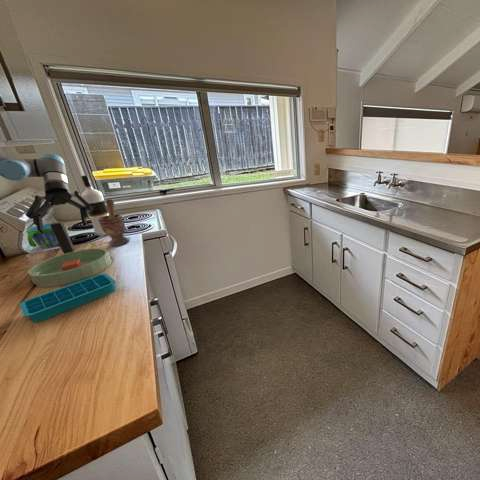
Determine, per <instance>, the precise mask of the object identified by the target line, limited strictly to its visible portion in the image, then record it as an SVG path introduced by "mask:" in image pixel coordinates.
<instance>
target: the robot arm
mask: <svg viewBox="0 0 480 480" xmlns="http://www.w3.org/2000/svg"><path fill="white" fill-rule="evenodd" d="M0 176H1V177H2V178H4V179H6V180H9V181H16V182H17V181H21V180H22V181H23V180H25V179H27V178H42V180H43V188H44V194H45V195H44V196H40V195H35V196H34V200H33V202H32V203H31V205H30V206H29V208H28V210H27V211H26V213H25V217H27V218H28V219H30V220H32V222H33V224H34V226H37V229H38V231H40V232H41V233H44V230H43V225H44V223H43V218H42V216H44V214H46V213H47V211H48V210H49V209H51V208H54V206H60V205H66V204H69V205H71V206H73V207H75V208H77V209H79V213H80V218H81V223H82V224H83V225H84V226H88V223H87V222H88V221H87V218H89V214H88V210H92V209H93V208H92V207H91V205H90V204H89V203H87V202H86V201H85V200H84V199H83V198H82V197H81V193H79V192H78V190H74V192H71V191H70V186H69V180H68V174H67V168H66V164H65V161H64V159H63V158H62V157H61V156H59V155H57V154H54V153H45V154H42V155H41V156H40V157H39V158H18V157H16V158H15V157H9V156H6V155H4V154H1V153H0ZM72 197H74V198H75V199H78V201H79V202H81V203H79V202H77V201H75V200H73V199H72ZM82 204H83V205H82Z"/></svg>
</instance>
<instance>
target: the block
mask: <svg viewBox="0 0 480 480" xmlns="http://www.w3.org/2000/svg"><path fill="white" fill-rule="evenodd" d="M81 266H83V265H82V263H81V261H80V259H78V260H74V261H69V262H65V263H63V265H62V266H61V269H62V271H67V270H71V269H75V268H78V267H81Z"/></svg>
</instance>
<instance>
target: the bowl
mask: <svg viewBox="0 0 480 480" xmlns="http://www.w3.org/2000/svg"><path fill="white" fill-rule="evenodd" d="M110 255H111V254H110V253H109V251H108V249H106V248H104V247H103V248H102V247H94V248H84V249H79V250H76V251H73V252H69V253H65V254H64V253H62V254H59V255H56V256H52V257H49V258H47V259H44V260H42V261H41V262H38V263H37V264H35V265H33V266H31V267H30V268H29V269H28V270H27V275H28V276H29V278H30V280H31V281H32V283H33V285H34V286H36V287H37V288H38V287H39V288H53V287H60V286H66V285H70V284H73V283H76V282H79V281H82V280H85V279H88V278H90V277H93V276H96V275H98V274H100V273H101V272H103V271H105V270H106V269H107V268H109V267H110V266H111V265H112V263H113V261H112V258H111V256H110ZM78 259H80V261H81V263H82V265H83V266H81V267H78V268H75V269H71V270H67V271H62V269H61V266H62V265H63V263H65V262H69V261H74V260H78Z"/></svg>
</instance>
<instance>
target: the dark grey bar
mask: <svg viewBox="0 0 480 480" xmlns="http://www.w3.org/2000/svg"><path fill="white" fill-rule="evenodd" d="M51 223H52V224H51ZM51 223H50V224H51V225H50V226H51V228H52V230H53V232H54V234H55V236H56V238H57V240H58V242H59V245H58V246H60V249H61V251H62V254H65V253H69V252H73V251H77V250H76V247H75V246H74V243H73V241H72V239H71V236H70V235H69V233H68V230H67V228H66V226H65V224H64V222H63V221H57V222H51Z"/></svg>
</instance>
